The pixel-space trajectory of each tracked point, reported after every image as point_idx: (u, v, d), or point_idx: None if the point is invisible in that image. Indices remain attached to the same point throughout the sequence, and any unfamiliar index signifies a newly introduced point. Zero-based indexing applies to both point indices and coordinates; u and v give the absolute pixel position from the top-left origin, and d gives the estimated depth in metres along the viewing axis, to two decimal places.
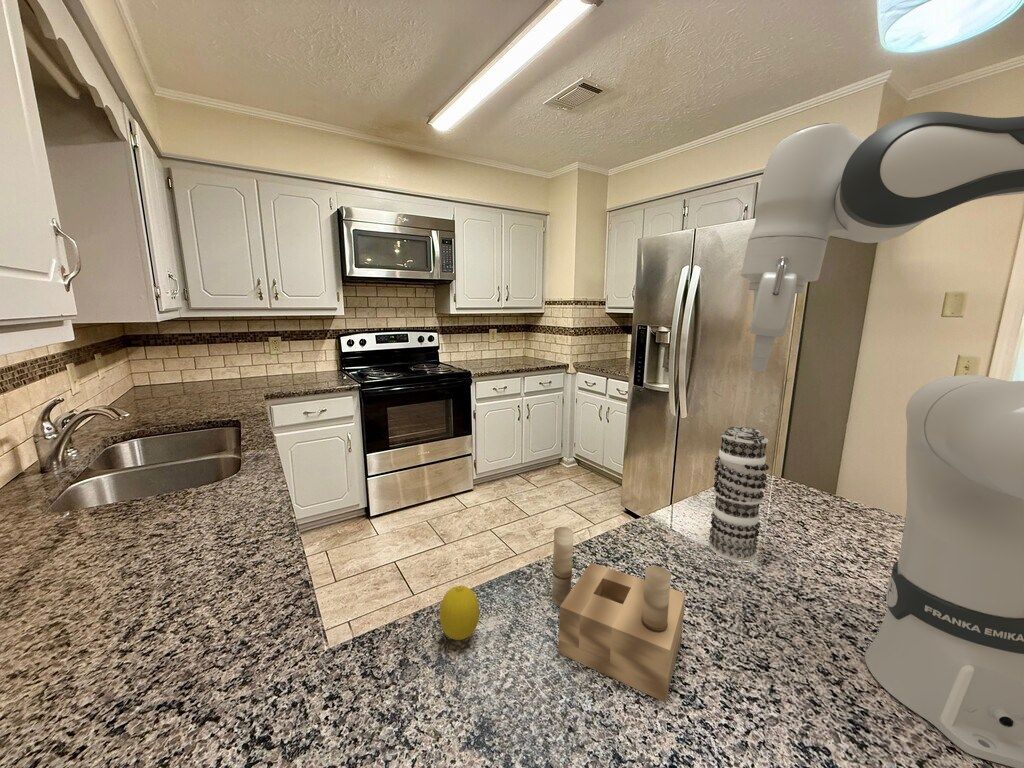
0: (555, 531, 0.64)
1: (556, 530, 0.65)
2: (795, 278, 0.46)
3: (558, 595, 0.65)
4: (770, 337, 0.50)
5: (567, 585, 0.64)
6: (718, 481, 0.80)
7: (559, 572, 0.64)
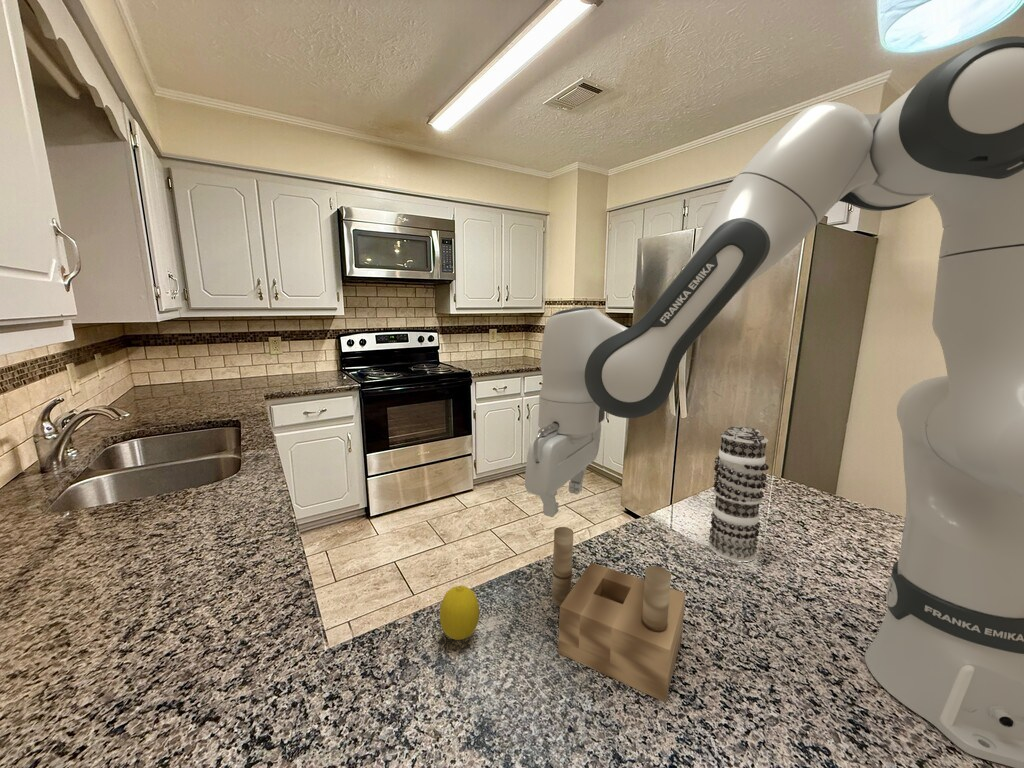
0: (555, 531, 0.64)
1: (556, 530, 0.65)
2: (551, 448, 0.54)
3: (558, 595, 0.65)
4: None
5: (567, 585, 0.64)
6: (718, 481, 0.80)
7: (559, 572, 0.64)
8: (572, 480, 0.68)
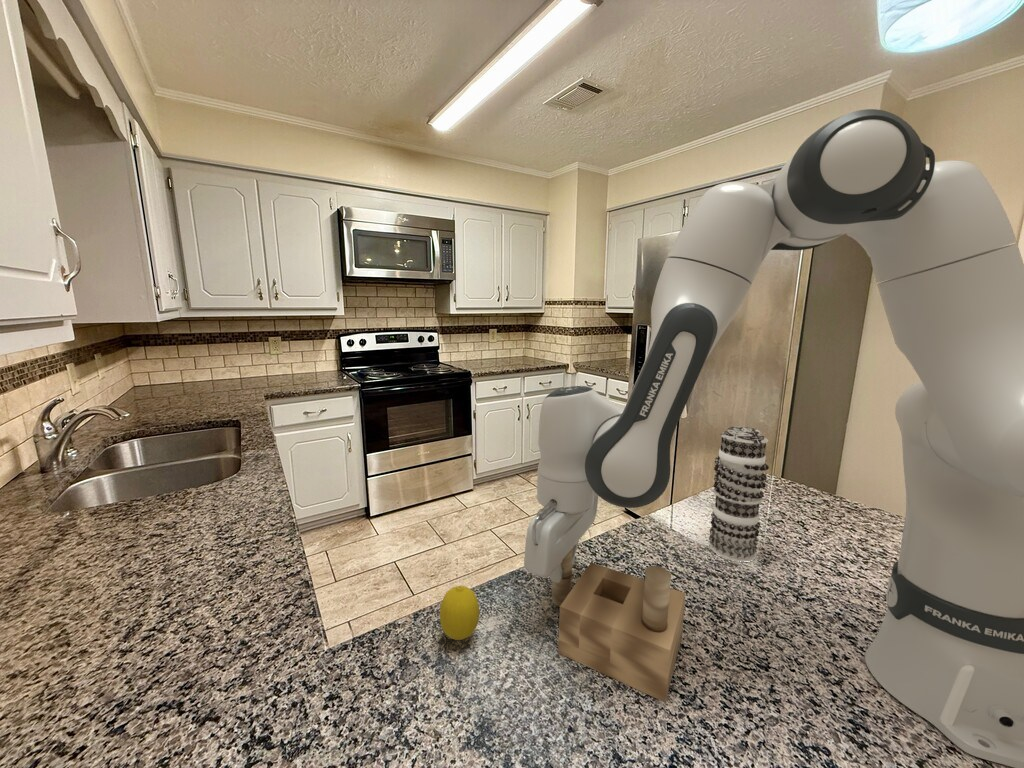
0: None
1: None
2: (549, 531, 0.55)
3: (558, 595, 0.65)
4: None
5: (567, 585, 0.64)
6: (718, 481, 0.80)
7: None
8: None
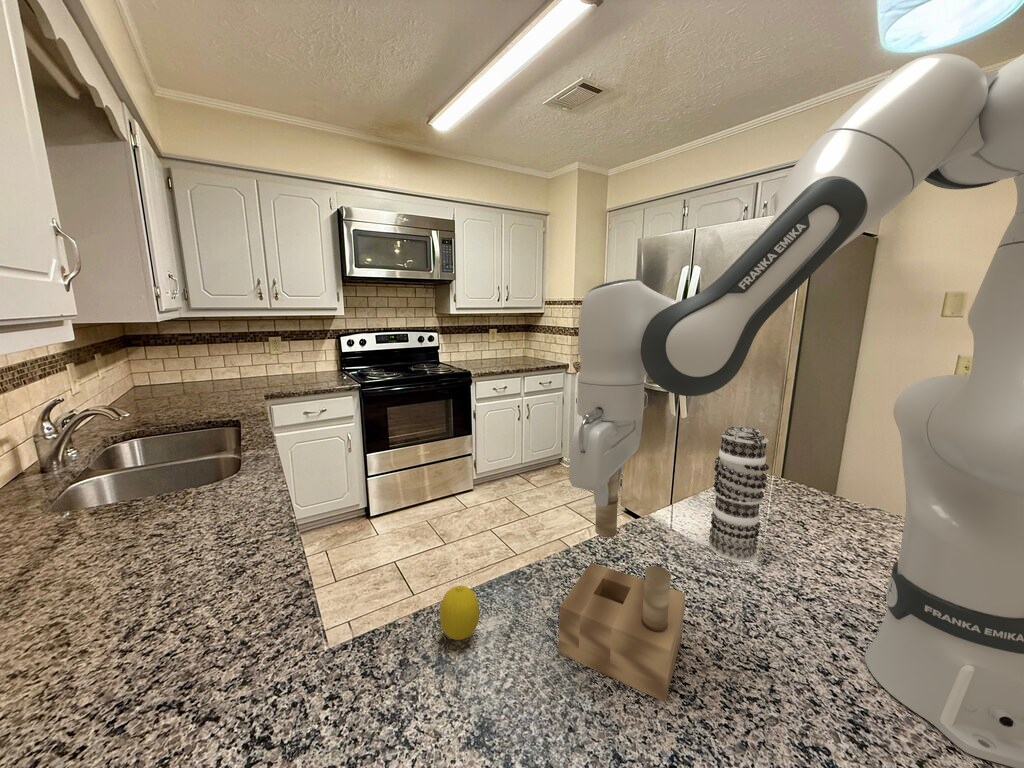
0: None
1: None
2: (598, 436, 0.48)
3: (603, 524, 0.57)
4: None
5: (613, 512, 0.57)
6: (718, 481, 0.79)
7: None
8: None
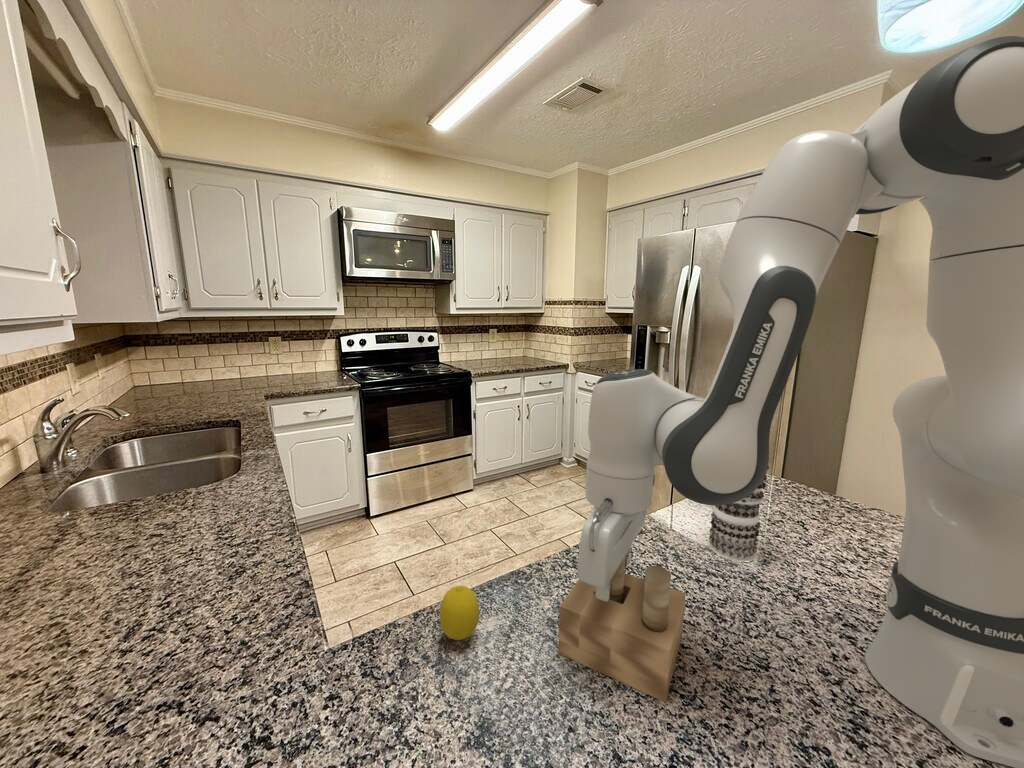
0: None
1: None
2: (608, 535, 0.48)
3: None
4: None
5: None
6: None
7: None
8: None
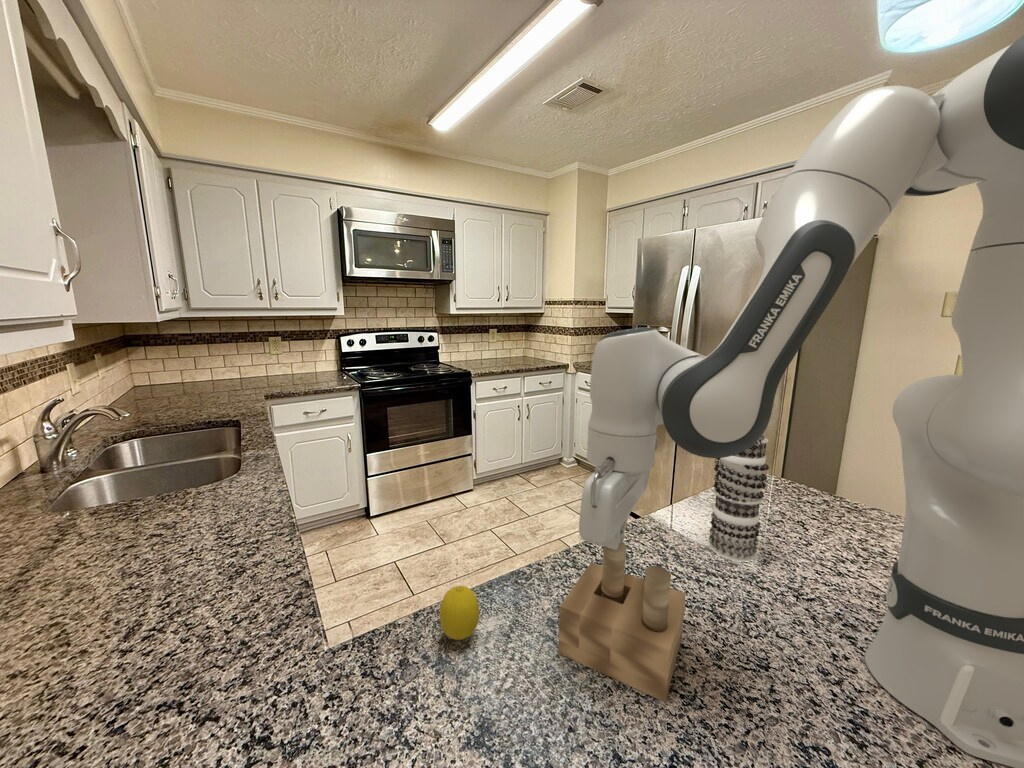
0: None
1: None
2: (610, 491, 0.47)
3: None
4: None
5: None
6: (718, 481, 0.80)
7: (610, 591, 0.57)
8: None
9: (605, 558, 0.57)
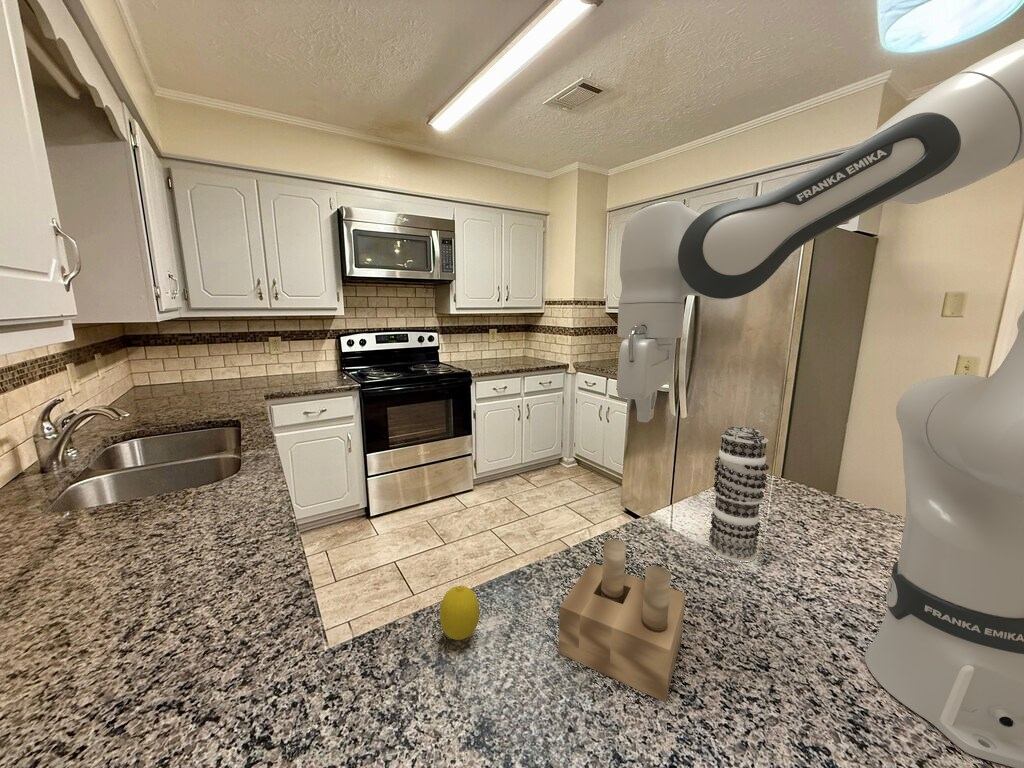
0: (605, 544, 0.57)
1: (606, 543, 0.57)
2: (646, 345, 0.50)
3: None
4: None
5: None
6: (718, 481, 0.80)
7: (610, 591, 0.57)
8: None
9: (605, 557, 0.57)
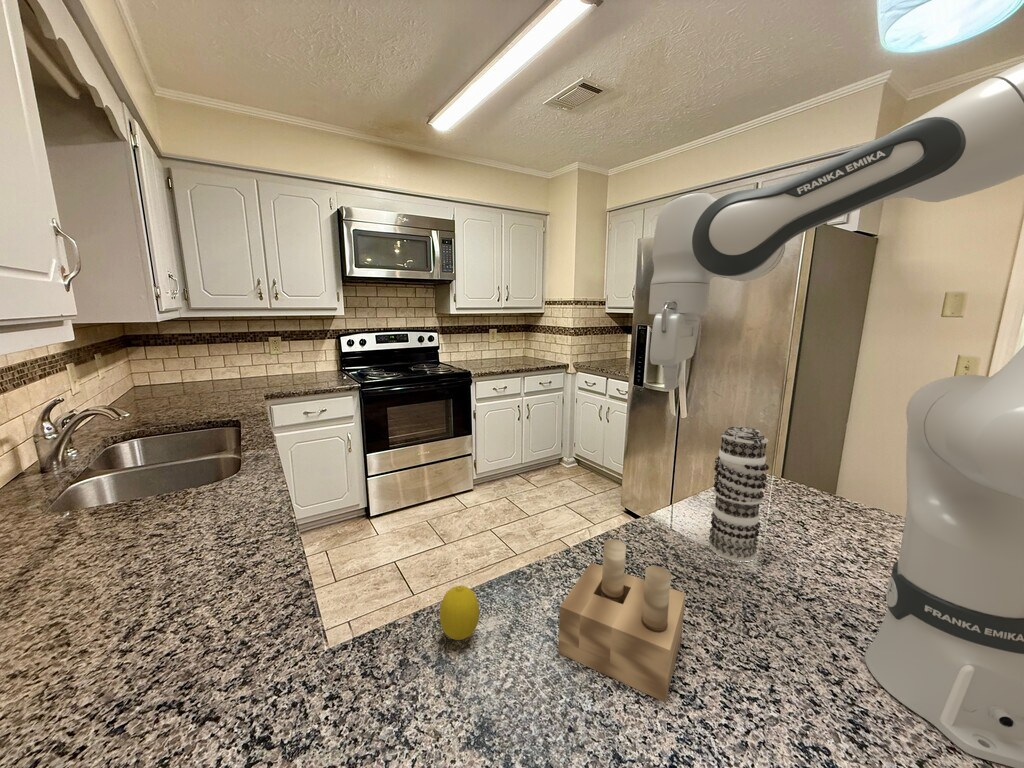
0: (605, 544, 0.57)
1: (606, 543, 0.57)
2: (677, 318, 0.58)
3: None
4: None
5: None
6: (718, 481, 0.80)
7: (610, 591, 0.57)
8: None
9: (605, 557, 0.57)
